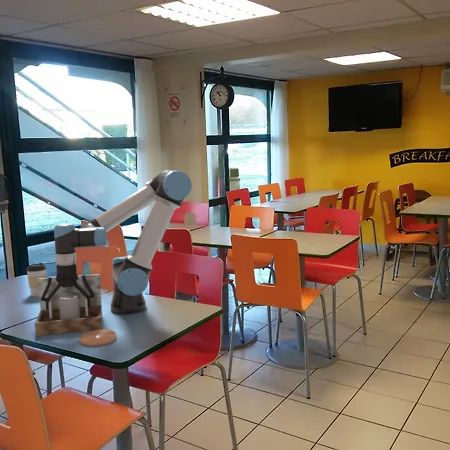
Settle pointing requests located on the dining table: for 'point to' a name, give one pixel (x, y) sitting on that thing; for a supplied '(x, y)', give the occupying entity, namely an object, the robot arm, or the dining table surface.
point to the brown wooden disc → (97, 337)
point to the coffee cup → (35, 277)
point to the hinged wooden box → (84, 322)
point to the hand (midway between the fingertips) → (69, 316)
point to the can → (69, 307)
